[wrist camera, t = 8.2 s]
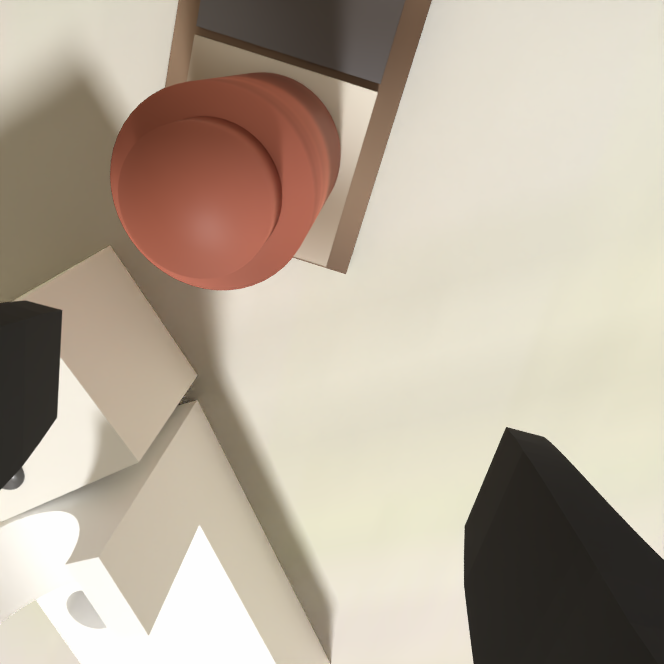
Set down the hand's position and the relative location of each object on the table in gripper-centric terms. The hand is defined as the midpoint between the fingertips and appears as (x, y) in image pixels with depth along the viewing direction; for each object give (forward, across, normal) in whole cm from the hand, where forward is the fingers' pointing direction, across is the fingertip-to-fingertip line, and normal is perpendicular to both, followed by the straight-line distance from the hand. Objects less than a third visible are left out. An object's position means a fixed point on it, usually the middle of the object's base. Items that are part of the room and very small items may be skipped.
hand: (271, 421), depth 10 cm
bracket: (+10, +3, +14) cm, 17 cm away
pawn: (+8, +2, -2) cm, 9 cm away
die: (+10, +7, +5) cm, 13 cm away
